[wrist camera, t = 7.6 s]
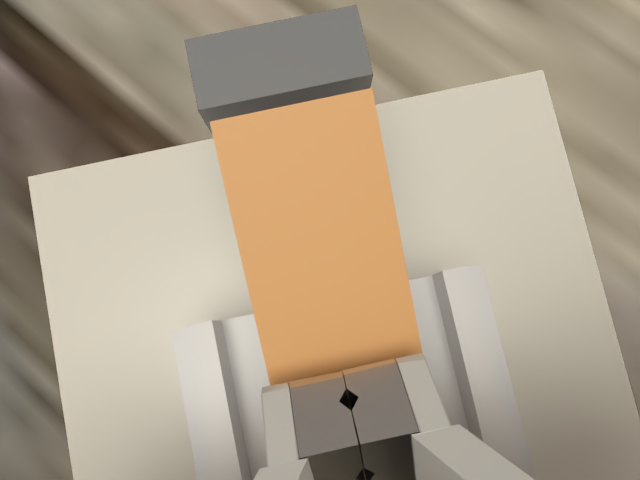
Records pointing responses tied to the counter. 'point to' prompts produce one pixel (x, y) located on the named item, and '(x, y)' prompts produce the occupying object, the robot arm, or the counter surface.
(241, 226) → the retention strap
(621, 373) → the socket board
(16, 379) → the counter surface
